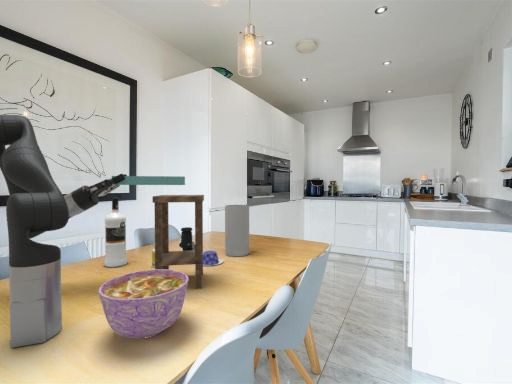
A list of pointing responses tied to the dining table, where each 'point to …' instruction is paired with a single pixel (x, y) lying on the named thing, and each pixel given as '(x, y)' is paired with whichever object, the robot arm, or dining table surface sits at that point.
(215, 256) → the blue teacup with saucer
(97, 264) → the dining table surface
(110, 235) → the vodka
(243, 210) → the cylinder vase
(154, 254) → the supplement bottle
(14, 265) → the robot arm
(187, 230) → the scope
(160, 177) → the teal bar
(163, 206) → the stand
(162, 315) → the bowl of food
